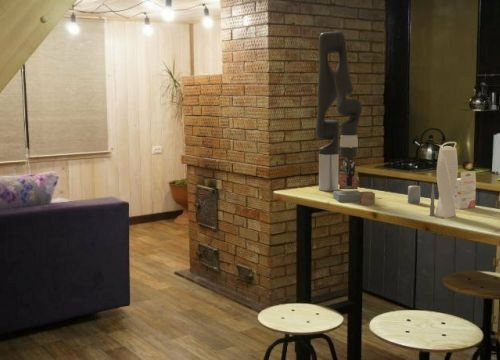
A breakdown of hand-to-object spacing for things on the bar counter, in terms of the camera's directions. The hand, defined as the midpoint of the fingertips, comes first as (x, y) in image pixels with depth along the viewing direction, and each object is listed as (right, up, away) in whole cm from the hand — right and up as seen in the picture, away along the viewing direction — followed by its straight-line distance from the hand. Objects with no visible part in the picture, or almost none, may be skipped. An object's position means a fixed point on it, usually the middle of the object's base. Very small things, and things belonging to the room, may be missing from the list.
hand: (348, 184), depth 266 cm
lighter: (0, -2, 0) cm, 2 cm away
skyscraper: (+30, -12, -36) cm, 49 cm away
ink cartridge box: (+43, -9, -20) cm, 48 cm away
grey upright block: (+26, -8, -9) cm, 29 cm away
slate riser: (0, -6, +1) cm, 6 cm away
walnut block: (+6, -8, -10) cm, 15 cm away
